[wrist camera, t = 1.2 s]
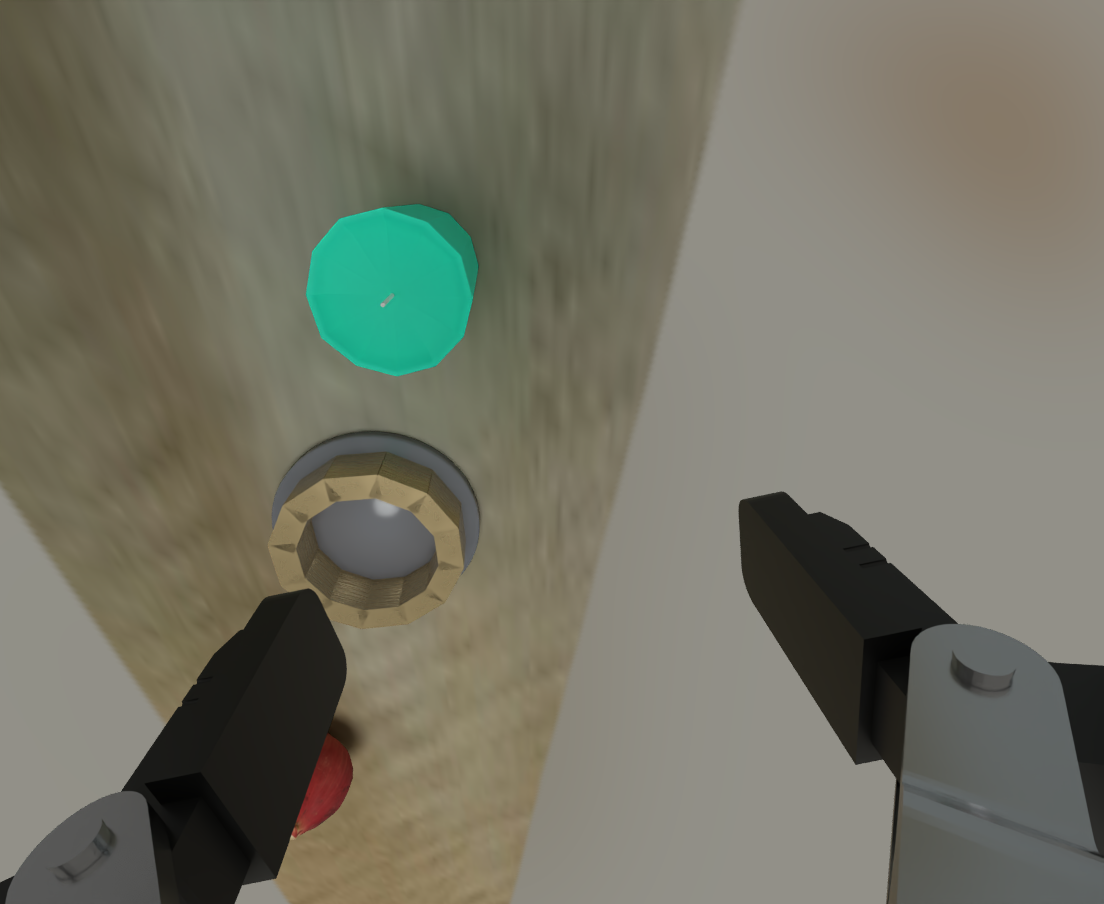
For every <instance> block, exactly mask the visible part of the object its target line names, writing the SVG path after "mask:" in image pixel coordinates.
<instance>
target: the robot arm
mask: <svg viewBox="0 0 1104 904" xmlns="http://www.w3.org/2000/svg"><path fill="white" fill-rule="evenodd" d="M739 527H740V546H741V564H742V573H743V578H744V582H745V585H746V589H747V591H748V593H749V596H750V598H751V600H752V602H753V604H754V605H755V607H756V608H757V610H758V612H759V613H760V615H761V616H762V618H763V619H764V621H765V623H766V624H767V626H768V627H769V629H770V630H771V632H772V633H773V635H774V637H775V638H776V640H777V641H778V643H779V645H780V646H781V648H782V649H783V651H784V653H785V654H786V655H787V657H788V659H789V660H790V662H791V664H792V665H793V667H794V668H795V670H796V671H797V673H798V675H799V676H800V678H801V679H802V681H803V682H804V684H805V685H806V687H807V689H808V690H809V692H810V694H811V695H812V697H813V698H814V700H815V701H816V703H817V705H818V706H819V707H820V709H821V711H822V712H823V714H824V715H825V717H826V719H827V720H828V722H829V723H830V725H831V727H832V728H833V730H834V731H835V733H836V734H837V736H838V737H839V739H840V741H841V742H842V744H843V746H844V747H845V749H846V750H847V752H848V753H849V755H850V756H851V758H852V760H853V761H854V763H855V764H856V765H857V764H862V763H867V762H872V761H877V760H882V759H883V760H884V761H885V763H886V764H887V766H888V767H889V769H890V770H891V771H892V773H893V774H894V776H895V777H896V784H895V795H894V808H893V820H892V833H891V846H890V859H889V872H888V886H887V899H886V904H1104V666H1098V665H1082V664H1064V663H1053V662H1047V661H1046V660H1045V659H1044V658H1043V657H1042V656H1041V655H1039V654H1038V653H1037V652H1036V651H1034V650H1033V649H1031V648H1030V647H1028V646H1027V645H1025V644H1023V643H1022V642H1020V641H1018V640H1016V639H1014V638H1012V637H1010V636H1007V635H1005V634H1003V633H999V632H997V631H994V630H991V629H987V628H983V627H979V626H973V625H965V624H958V623H957V622H956V621H955V620H953V619H952V618H951V617H950V616H949V615H948V614H947V613H946V612H945V611H943V610H942V609H941V608H940V607H939V606H938V605H937V604H936V603H935V602H934V601H932V600H931V599H930V598H929V597H928V596H927V595H926V594H925V593H924V592H922V591H921V590H920V589H919V588H918V587H917V586H916V585H915V584H913V583H912V582H911V581H910V580H909V579H908V578H907V577H906V576H905V575H903V574H902V573H901V572H900V571H899V570H898V569H897V568H896V567H895V566H894V565H892V564H891V563H887V561H886V558H885V557H884V556H883V555H881V554H880V553H879V552H878V551H877V550H876V549H875V548H873V547H870V546H869V543H868V542H867V541H866V540H865V539H864V538H863V537H861V536H860V535H859V534H858V533H857V532H856V531H855V530H853V528H852V527H850V526H849V525H847V524H845V523H843V522H841V521H839V520H837V519H834V518H832V517H830V516H828V515H826V514H823V513H821V512H818V513H813V514H807V513H806V512H805V511H804V510H803V509H802V508H801V507H800V506H799V505H798V504H797V503H796V502H795V501H794V500H793V499H792V498H791V497H790V496H789V495H788V494H787V493H785V492H777V493H772V494H767V495H763V496H757V497H753V498H748V499H743V500H741V501H740V504H739ZM346 673H347V666H346V657H345V653H344V650H343V648H342V645H341V643H340V641H339V639H338V637H337V635H336V633H335V631H334V628H333V626H332V624H331V622H330V620H329V618H328V616H327V614H326V611H325V609H324V607H323V605H322V603H321V601H320V599H319V597H318V595H317V594H316V592H314V591H313V590H312V589H309V588H307V589H302V590H297V591H292V592H287V593H283V594H278V595H273V596H268V597H266V598H265V599H263V601H262V602H261V603H260V605H259V606H258V608H257V609H256V611H255V612H254V614H253V616H252V617H251V619H250V620H249V622H248V623H247V625H246V626H245V628H244V629H243V630H240V631H239V632H237V633H236V634H235V635H234V636H233V637H232V638H231V639H230V640H229V641H228V642H227V643H226V644H224V645H223V646H222V647H221V648H220V649H219V650H218V651H217V652H216V653H215V654H214V655H213V656H212V658H211V659H210V661H209V662H208V664H207V665H206V667H205V668H204V670H203V671H202V673H201V674H200V676H199V677H198V679H197V684H196V685H193V686H192V687H191V689H190V690H189V692H188V693H187V695H186V696H185V698H184V699H183V701H182V703H183V704H182V706H181V707H178V708H177V710H176V711H175V712H174V714H173V715H172V717H171V718H170V720H169V721H168V723H167V724H166V726H165V727H164V729H163V730H162V732H161V733H160V735H159V736H158V738H157V739H156V741H155V742H154V744H153V745H152V746H151V748H150V749H149V751H148V752H147V754H146V755H145V757H144V759H143V760H142V761H141V763H140V764H139V766H138V767H137V769H136V770H135V772H134V773H133V775H132V776H131V778H130V779H129V780H128V782H127V783H126V785H125V786H124V788H123V789H122V791H121V792H118V793H114V794H111V795H108V796H105V797H103V798H101V799H98V800H96V801H95V802H92V803H90V804H89V805H87V806H85V807H84V808H82V809H80V810H79V811H77V812H76V813H74V814H73V815H71V816H70V817H69V818H67V819H66V820H65V821H64V822H62V823H61V824H60V825H58V826H57V827H56V828H55V829H54V830H53V831H52V832H51V833H49V834H48V835H47V836H46V837H45V838H44V839H43V840H42V841H41V842H40V843H39V844H38V845H37V846H36V848H35V849H34V850H33V851H32V852H31V853H30V855H29V856H28V857H27V858H26V860H25V861H24V862H23V864H22V865H21V867H20V868H19V870H18V871H17V873H16V874H15V876H13V877H11V878H9V879H6V880H4V881H2V882H0V904H235V901H236V899H237V896H238V894H239V891H240V889H241V886H242V885H246V884H251V883H256V882H261V881H266V880H271V879H276V878H277V875H278V872H279V869H280V866H281V863H282V861H283V858H284V855H285V852H286V849H287V846H288V844H289V841H290V838H291V835H292V832H293V829H294V827H295V824H296V821H297V818H298V815H299V812H300V810H301V807H302V804H303V801H304V798H305V795H306V793H307V790H308V787H309V784H310V781H311V778H312V776H313V773H314V770H315V767H316V764H317V761H318V759H319V756H320V753H321V750H322V747H323V744H324V742H325V739H326V736H327V733H328V730H329V727H330V725H331V722H332V719H333V716H334V713H335V710H336V708H337V705H338V702H339V699H340V696H341V693H342V691H343V688H344V685H345V681H346Z"/></svg>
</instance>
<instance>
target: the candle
mask: <svg viewBox="0 0 1104 904" xmlns="http://www.w3.org/2000/svg"><path fill="white" fill-rule="evenodd" d="M478 267H479V266H478V262H477V258H476V255H475V251H474V247H473V244H472V240H471V237H470V236H469V235H468V233H467V232H466V231H465V230H464V229H463V228H462V227H461V226H460V225H459V224H458V223H457V222H456V221H455V219H454V218H453V217H452V216H451V215H450V214H449V213H446V212H443V211H440V210H437V209H434V208H430V207H427V206H424V205H421V204H413V205H403V206H393V207H383V208H379V209H375V210H371V211H367V212H363V213H359V214H355V215H351V216H347V217H343V218H340V219H339V220H338V221H337V222H336V223H335V224H334V226H333V227H332V228H331V229H330V230H329V232H328V233H327V234H326V235H325V236H324V238H323V239H322V240H321V241H320V242H319V244H318V245H317V246H316V247H315V248H314V250H313V251H312V257H311V264H310V270H309V277H308V284H307V291H306V297H307V299H308V302H309V305H310V308H311V311H312V313H313V316H314V319H315V322H316V324H317V327H318V330H319V333H320V336H321V338H322V339H323V340H325V341H326V342H327V343H328V344H330V345H331V346H332V347H333V348H335V349H336V350H337V351H339V352H340V353H341V354H342V355H344V356H345V357H346V358H347V359H349V360H350V361H351V362H352V363H354V364H355V365H356V366H359V367H363V368H367V369H371V370H375V371H378V372H382V373H386V374H390V375H393V376H401V375H405V374H408V373H412V372H416V371H420V370H423V369H427V368H431V367H435V366H436V365H437V364H438V363H439V362H440V361H441V360H442V359H443V358H444V357H445V356H446V355H447V354H448V353H449V352H450V351H451V350H452V349H453V347H454V346H455V345H456V344H457V343H458V342H459V341H460V340H461V339H462V338H463V337H464V333H465V329H466V325H467V321H468V317H469V313H470V309H471V305H472V301H473V295H474V290H475V284H476V279H477V273H478Z"/></svg>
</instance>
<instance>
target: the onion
mask: <svg viewBox="0 0 1104 904" xmlns="http://www.w3.org/2000/svg"><path fill="white" fill-rule="evenodd" d="M352 779H353V766H352V762H351V759H350V756H349V753H348V751H347V749H346V748H345V747H344V746H343V745H342V744H341V743H340V742H339V741H338V740H337V739H336V738H334V737H332V736H331V735H330V734H329V733H327V736H326V739H325V742H324V744H323V747H322V750H321V753H320V756H319V759H318V761H317V764H316V767H315V770H314V773H313V776H312V778H311V781H310V784H309V787H308V790H307V793H306V795H305V798H304V801H303V804H302V807H301V810H300V812H299V815H298V818H297V821H296V824H295V827H294V829H293V832H292V835H291V838H290V840H293V839H296V838H297V836H299V835H301V834H303V833H305V832H306V831H308V830H311V829H313V828H315V827H317V826H318V825H320V824H321V823H323V822H324V821H325V820H326V819H328V818H329V817H330V816H331V815H333V814H334V813H335V812H336V811H337V810H338V808H339V807H340V806H341V804H342V802H343V801H344V799H345V797H346V794H347V792H348V790H349V787H350V785H351V782H352Z"/></svg>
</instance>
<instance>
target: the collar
mask: <svg viewBox="0 0 1104 904" xmlns="http://www.w3.org/2000/svg"><path fill="white" fill-rule="evenodd" d="M374 498H375V499H378V500H381V501H383V502H386V503H389V504H392V505H394V506H397V507H400V508H403V509H405V510H408V511H411V512H412V513H413V514H414V515H415V516H416V518H417V519H418V520H419V521H420V522H421V523H422V524H423V525H424V526H425V527H426V528H427V529H428V531H429V532H430V533H431V534H432V535H433V536H434V540H435V546H436V551H435V553H434V555H433V557H432V559H431V561H430V562H428V563H427V564H425V565H423V566H422V567H420V568H418V569H417V570H415V571H414V572H412V573H410V574H409V575H407V576H405V577H396V578H386V579H375V580H372V579H369V578H366V577H363V576H360V575H357V574H354V573H351V572H347V571H344V570H342V569H341V568H339V567H338V566H337V565H336V564H335V563H334V562H333V561H332V560H331V559H330V558H329V557H328V556H327V555H326V554H324V553H323V552H322V551H321V550H320V549H319V546H318V543H317V539H316V536H315V532H314V528H313V525H312V521H311V520H312V518H313V516H315V515H316V514H318V513H320V512H321V511H323V510H324V509H326V508H327V507H329V506H330V505H332V504H334V503H335V502H338V501H350V500H362V499H374ZM465 546H466V537H465V529H464V521H463V514H462V506H461V502H460V501H459V500H458V498H457V497H456V496H455V495H454V494H453V493H452V491H451V490H450V489H449V488H448V487H447V486H446V484H445V483H444V482H443V481H442V480H441V479H440V477H439V476H438V475H437V474H436V473H435V472H434V470H432V469H430V468H427V467H425V466H422V465H420V464H417V463H415V462H412V461H410V460H407V459H405V458H402V457H400V456H397V455H395V454H392V453H390V452H374V453H361V454H348V455H338V456H335V457H334V458H332V459H331V460H329V461H328V462H326V463H325V464H323V465H322V466H320V467H319V468H317V469H316V470H314V471H313V472H311V473H310V474H308V475H307V476H305V477H304V478H302V479H301V480H299V482H298V483H297V485H296V486H295V488H294V489H293V491H292V492H291V494H290V495H289V497H288V498H287V500H286V501H285V503H284V504H283V506H282V508H281V511H280V513H279V516H278V519H277V521H276V524H275V527H274V529H273V532H272V535H271V537H270V540H269V543H268V549H269V552H270V555H271V558H272V561H273V564H274V567H275V570H276V573H277V576H278V579H279V582H280V585H281V586H282V587H283V588H284V589H285V590H286V591H288V592H292V591H297V590H302V589H307V588H309V589H312V590H313V591H314V592H316V594H317V595H318V597H319V599H320V601H321V603H322V605H323V607H324V609H325V611H326V614H327V616H328V618H329V620H333V621H336V622H340V623H343V624H346V625H350V626H353V627H357V628H360V629H361V628H362V629H366V628H376V627H386V626H396V625H406V624H409V623H411V622H413V621H415V620H416V619H418V618H420V617H421V616H423V615H425V614H427V613H428V612H430V611H432V610H433V609H435V608H437V607H439V606H440V605H442V604H444V603H445V602H446V600H447V598H448V596H449V595H450V593H451V591H452V589H453V587H454V586H455V584H456V582H457V580H458V578H459V576H460V575H461V573H462V571H463V569H464V560H465Z"/></svg>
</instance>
